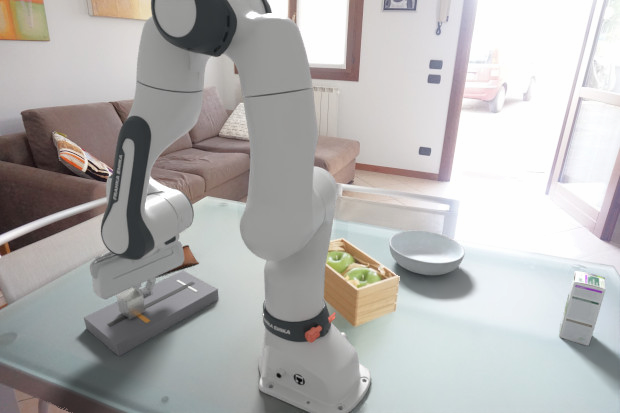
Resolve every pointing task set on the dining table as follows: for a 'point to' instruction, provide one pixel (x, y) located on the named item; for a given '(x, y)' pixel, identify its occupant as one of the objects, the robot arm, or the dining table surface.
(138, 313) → the fader tab
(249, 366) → the dining table surface
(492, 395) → the dining table surface
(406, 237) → the serving bowl
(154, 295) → the fader console
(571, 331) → the syrup box
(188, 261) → the sunglasses case
